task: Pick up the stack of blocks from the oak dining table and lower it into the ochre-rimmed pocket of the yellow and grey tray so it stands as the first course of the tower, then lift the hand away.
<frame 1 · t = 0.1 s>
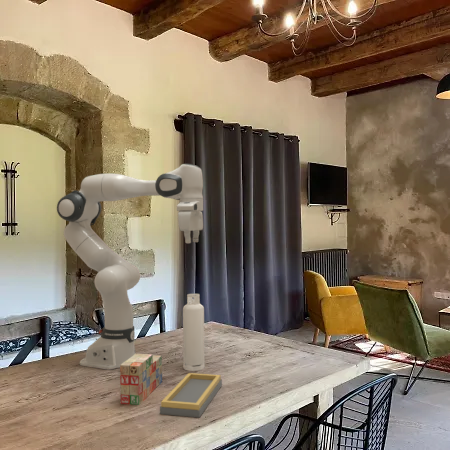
hand: (191, 242, 179), 48 cm above the table, tool pointing down, fingers open, 8 cm apart
yellow and grey tray: (193, 398, 148), on the table
stack of blocks: (142, 392, 154), on the table
bottle: (194, 368, 179), on the table
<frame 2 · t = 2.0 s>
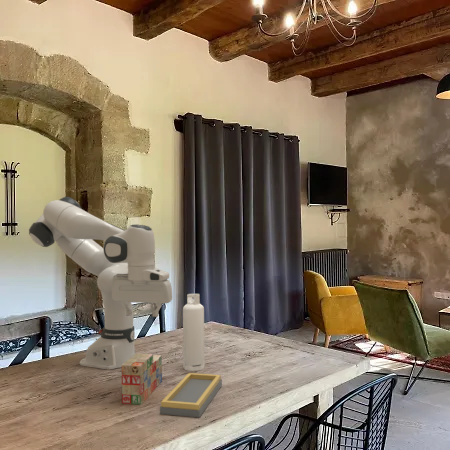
hand: (142, 316, 154), 25 cm above the table, tool pointing down, fingers open, 8 cm apart
nothing on the table moved.
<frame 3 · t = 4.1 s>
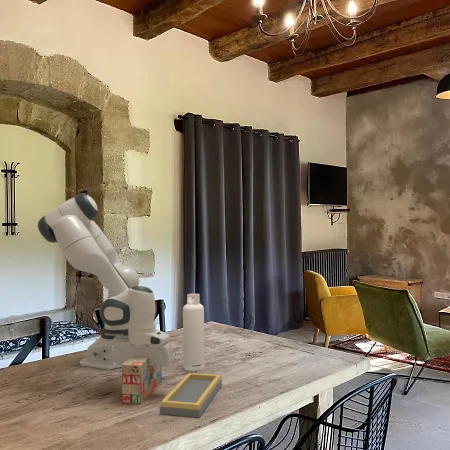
hand: (142, 377, 154), 5 cm above the table, tool pointing down, fingers closed on stack of blocks, 6 cm apart
stack of blocks: (143, 392, 155), on the table, touching gripper
everything else where it was.
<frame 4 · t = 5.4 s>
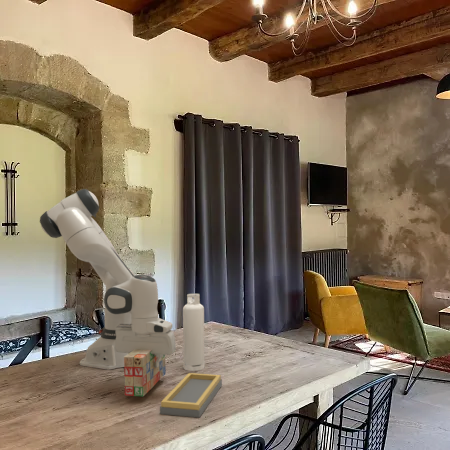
hand: (145, 366, 154), 8 cm above the table, tool pointing down, fingers closed on stack of blocks, 6 cm apart
stack of blocks: (146, 384, 155), point 2 cm above the table, touching gripper
everything else where it was.
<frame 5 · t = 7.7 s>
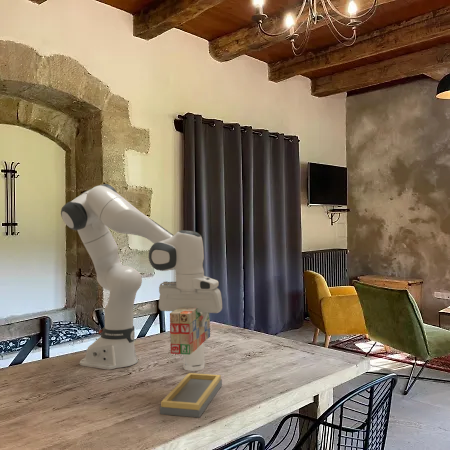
hand: (190, 325, 147), 23 cm above the table, tool pointing down, fingers closed on stack of blocks, 6 cm apart
stack of blocks: (191, 345, 148), point 17 cm above the table, touching gripper
everything else where it was.
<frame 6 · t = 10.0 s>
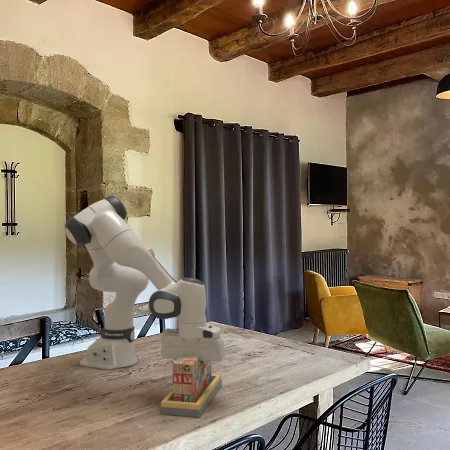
hand: (192, 373, 148), 8 cm above the table, tool pointing down, fingers closed on stack of blocks, 6 cm apart
stack of blocks: (193, 392, 148), point 2 cm above the table, touching yellow and grey tray, gripper
everything else where it was.
when the fingers open (8 cm above the table, at t = 10.3 s): stack of blocks stays where it is, resting on yellow and grey tray.
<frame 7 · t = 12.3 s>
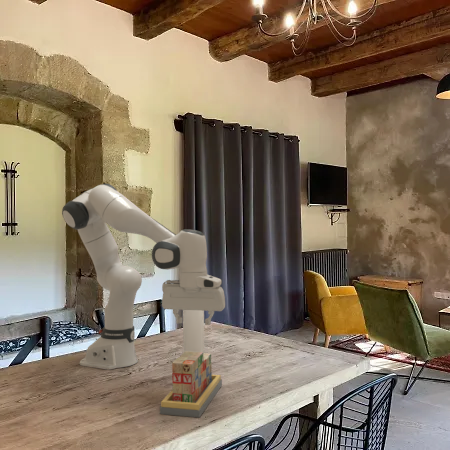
hand: (193, 323, 149), 23 cm above the table, tool pointing down, fingers open, 8 cm apart
stack of blocks: (193, 392, 149), point 2 cm above the table, touching yellow and grey tray
everything else where it was.
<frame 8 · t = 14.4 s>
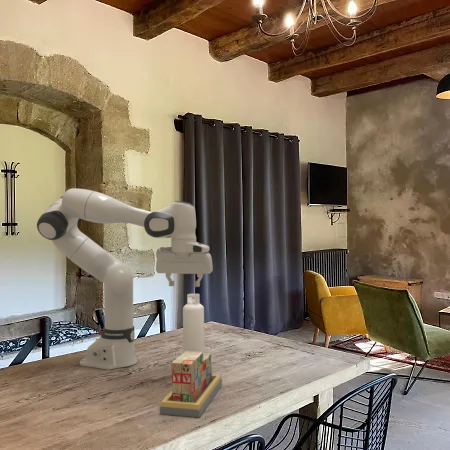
hand: (184, 286, 165), 33 cm above the table, tool pointing down, fingers open, 8 cm apart
nothing on the table moved.
at the end: stack of blocks 0.8 cm off-centre on the yellow and grey tray, point 1.8 cm above the yellow and grey tray's base; stack of blocks tilted 0°; the gripper is holding nothing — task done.
